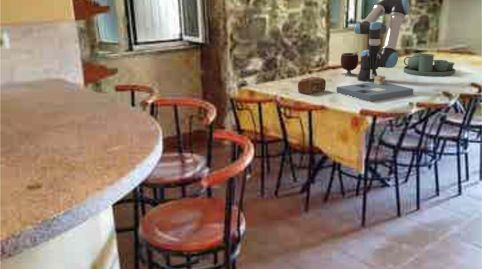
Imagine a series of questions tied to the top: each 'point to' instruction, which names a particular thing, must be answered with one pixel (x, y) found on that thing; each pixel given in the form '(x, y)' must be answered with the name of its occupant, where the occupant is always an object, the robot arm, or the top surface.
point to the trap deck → (375, 91)
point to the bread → (311, 85)
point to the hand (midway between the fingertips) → (372, 78)
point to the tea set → (428, 66)
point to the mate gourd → (349, 63)
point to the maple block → (379, 80)
